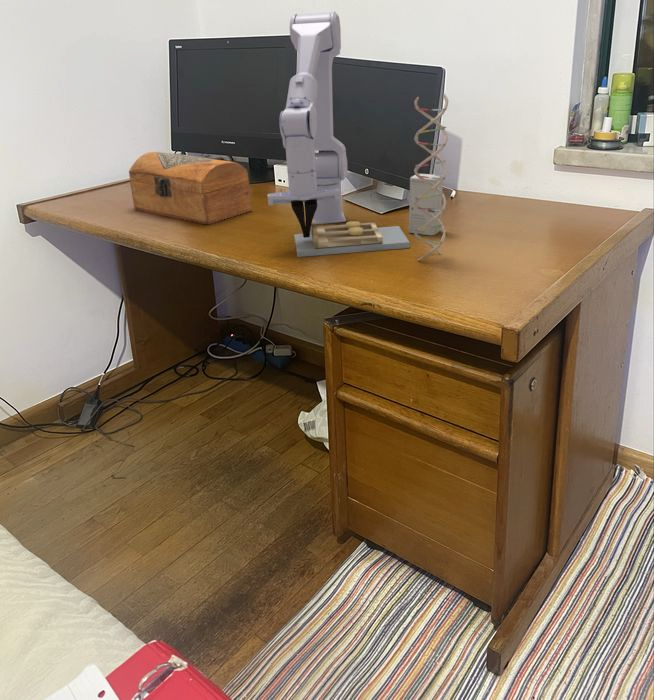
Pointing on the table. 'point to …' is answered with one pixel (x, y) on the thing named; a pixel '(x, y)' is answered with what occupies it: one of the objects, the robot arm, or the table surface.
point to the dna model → (433, 154)
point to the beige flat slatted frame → (344, 235)
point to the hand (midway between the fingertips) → (306, 236)
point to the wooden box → (189, 187)
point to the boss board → (391, 240)
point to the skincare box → (424, 204)
